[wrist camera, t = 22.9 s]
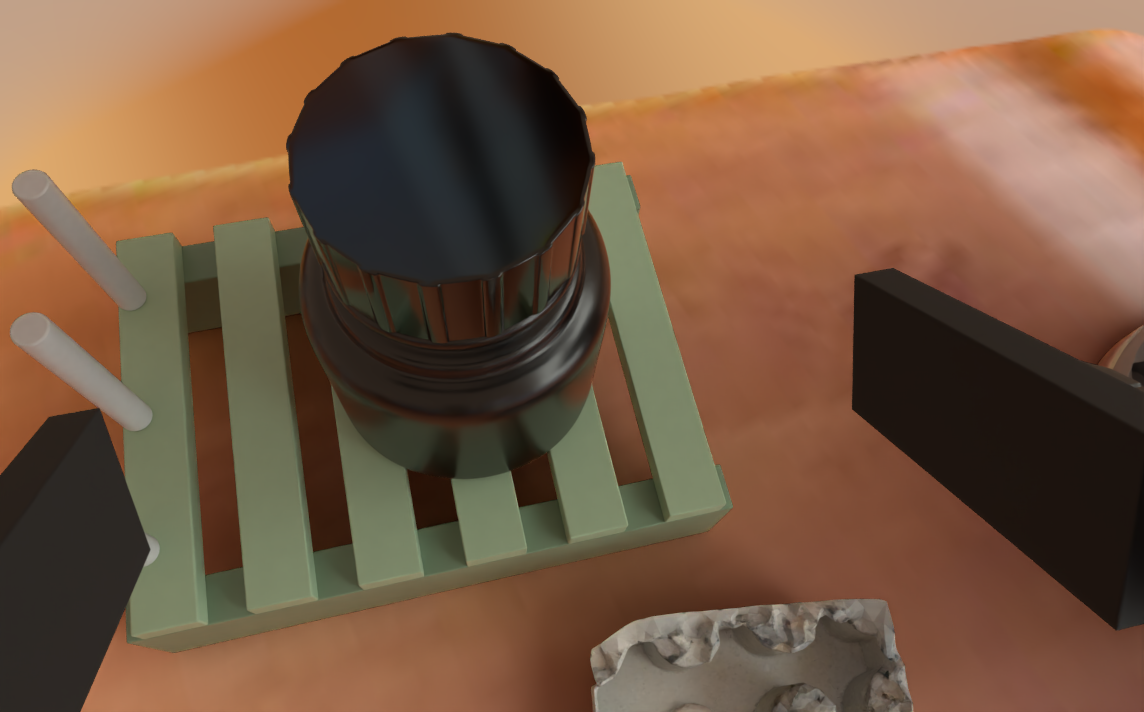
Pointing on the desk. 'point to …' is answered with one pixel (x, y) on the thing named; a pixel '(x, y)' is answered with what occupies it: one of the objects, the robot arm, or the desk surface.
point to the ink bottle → (450, 252)
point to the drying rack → (347, 436)
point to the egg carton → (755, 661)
